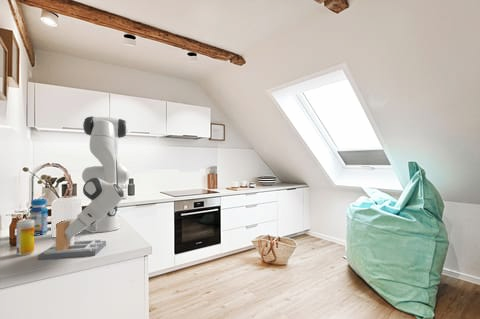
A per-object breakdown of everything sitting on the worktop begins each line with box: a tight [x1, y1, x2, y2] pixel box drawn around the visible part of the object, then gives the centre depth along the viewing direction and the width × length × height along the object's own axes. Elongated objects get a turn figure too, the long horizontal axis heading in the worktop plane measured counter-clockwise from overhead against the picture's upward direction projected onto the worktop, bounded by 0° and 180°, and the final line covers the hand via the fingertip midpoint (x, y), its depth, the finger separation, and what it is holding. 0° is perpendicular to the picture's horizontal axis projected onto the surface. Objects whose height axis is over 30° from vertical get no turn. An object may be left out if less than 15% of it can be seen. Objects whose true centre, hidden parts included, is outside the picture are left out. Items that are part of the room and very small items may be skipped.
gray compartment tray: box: [37, 218, 107, 260], centre depth 116 cm, size 22×15×14 cm
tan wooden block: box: [55, 221, 69, 250], centre depth 113 cm, size 3×5×12 cm, turn 12°
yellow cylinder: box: [16, 218, 35, 257], centre depth 114 cm, size 6×6×15 cm
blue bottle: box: [28, 198, 49, 236], centre depth 146 cm, size 8×8×20 cm
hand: (68, 237), depth 113 cm, fingers closed
